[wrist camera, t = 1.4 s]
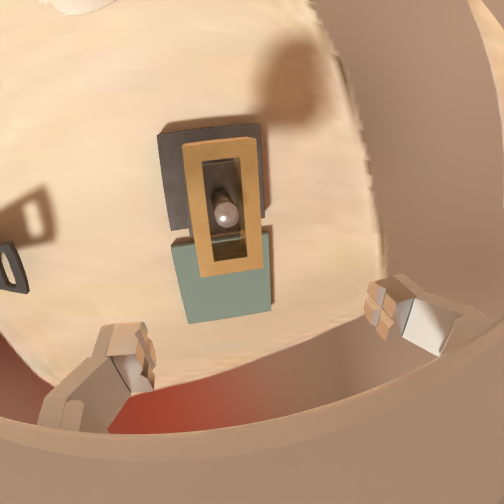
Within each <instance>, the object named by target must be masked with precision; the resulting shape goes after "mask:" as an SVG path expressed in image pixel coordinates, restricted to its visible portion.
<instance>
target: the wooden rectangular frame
mask: <svg viewBox="0 0 504 504" xmlns="http://www.w3.org/2000/svg"><path fill="white" fill-rule="evenodd" d="M182 152H183V161H184V170H185V178H186V185H187V193H188V200H189V207H190V214H191V221H192V228H193V234H194V241H195V247H196V253H197V259H198V265H199V270H200V276H201V277H208V276H215V275H222V274H228V273H235V272H241V271H248V270H254V269H261V268H263V249H262V229H261V211H260V193H259V176H258V159H257V143H256V138H251V137H238V138H227V139H217V140H208V141H200V142H192V143H185V144H183V146H182ZM227 158H234V170H235V183H236V195H237V207H238V212H239V230H240V239H238V240H231V241H224V242H217V243H211V237H210V229H209V221H208V213H207V205H206V197H205V188H204V179H203V170H202V161H209V160H218V159H227Z"/></svg>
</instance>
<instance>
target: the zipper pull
mask: <svg viewBox="0 0 504 504" xmlns="http://www.w3.org/2000/svg"><path fill="white" fill-rule="evenodd" d="M0 252H4V253H5V255H6V257H7V259H8V261H9V264H10V267H11V270H12V272H13V275H14V278H15V281H16V284H12V283H11V282H9V280H8V278H7V275H6V273H5V270H4V267H3V264H2V261H1V259H0V289H2V290H7V291H11V292H17V293H23V294H28V292H29V291H30V290H29V285H28V280H27V277H26V273H25V270H24V267H23V264H22V261H21V259H20V256H19V254H18V251H17V249H16V247H15V245H14V243H13V241H7V242H3V243H0Z"/></svg>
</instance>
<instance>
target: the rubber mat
mask: <svg viewBox="0 0 504 504" xmlns="http://www.w3.org/2000/svg"><path fill="white" fill-rule="evenodd" d="M238 239H240V235H234V236H227V237H220V238H213V239H211V243H217V242H224V241H231V240H238ZM262 249H263V268H261V269H254V270H248V271H241V272H235V273H228V274H222V275H215V276H208V277H201V276H200V270H199V265H198V259H197V253H196V247H195V241H192V242H186V243H179V244H172V245H171V251H172V256H173V260H174V265H175V270H176V274H177V279H178V283H179V287H180V292H181V296H182V300H183V304H184V308H185V312H186V316H187V320H188V324H192V323H199V322H206V321H213V320H220V319H226V318H232V317H238V316H244V315H250V314H256V313H261V312H267V311H271V289H270V260H269V235H268V232H267V231H264V232H262Z"/></svg>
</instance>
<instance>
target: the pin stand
mask: <svg viewBox="0 0 504 504" xmlns="http://www.w3.org/2000/svg"><path fill="white" fill-rule="evenodd" d="M238 137H251V138H256V143H257V159H258V176H259V193H260V211H261V218H265V210H264V191H263V172H262V154H261V138H260V123H256V124H241V125H228V126H218V127H208V128H200V129H192V130H185V131H178V132H171V133H165V134H159V135H157V141H158V150H159V158H160V165H161V173H162V180H163V187H164V193H165V199H166V206H167V211H168V217H169V223H170V228H171V231H173V230H180V229H187V228H189V232H190V238H192V237H194V234H193V228H192V221H191V214H190V207H189V200H188V193H187V185H186V178H185V170H184V161H183V152H182V146H183V144H185V143H192V142H200V141H208V140H217V139H227V138H238ZM202 170H203V179H204V188H205V197H206V205H207V213H208V221H209V229H210V235H213V234H220V233H227V232H234V231H240V230H239V212H238V207H237V195H236V183H235V170H234V158H227V159H218V160H209V161H202Z"/></svg>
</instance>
